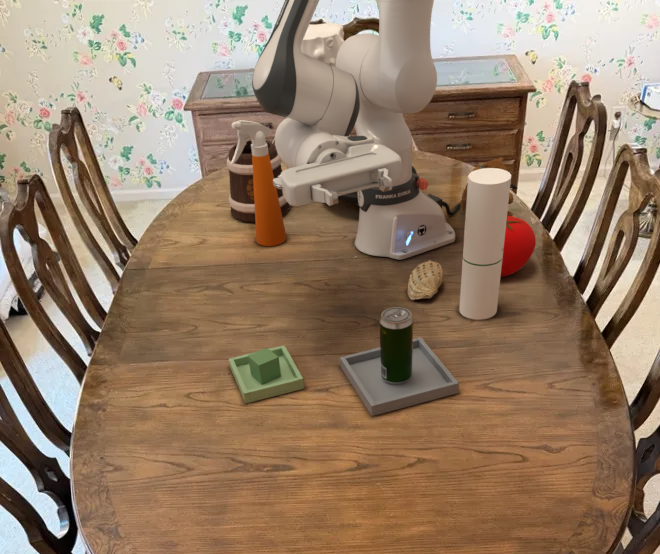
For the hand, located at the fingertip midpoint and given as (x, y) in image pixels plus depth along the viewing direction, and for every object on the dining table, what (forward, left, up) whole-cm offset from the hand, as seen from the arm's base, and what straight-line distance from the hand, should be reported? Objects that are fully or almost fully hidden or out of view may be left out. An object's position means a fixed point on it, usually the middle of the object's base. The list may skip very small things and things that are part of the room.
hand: (361, 192), depth 113 cm
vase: (-20, -88, -28) cm, 94 cm away
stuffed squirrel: (-44, -40, -28) cm, 66 cm away
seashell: (-18, -14, -28) cm, 36 cm away
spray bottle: (+6, -51, -28) cm, 58 cm away
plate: (-24, -63, -28) cm, 73 cm away
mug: (0, -68, -28) cm, 74 cm away
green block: (+20, +2, -27) cm, 34 cm away
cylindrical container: (-24, -3, -28) cm, 37 cm away
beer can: (-1, +12, -28) cm, 30 cm away
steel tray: (-1, +12, -28) cm, 30 cm away
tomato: (-35, -16, -28) cm, 48 cm away
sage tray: (+20, +2, -28) cm, 34 cm away
